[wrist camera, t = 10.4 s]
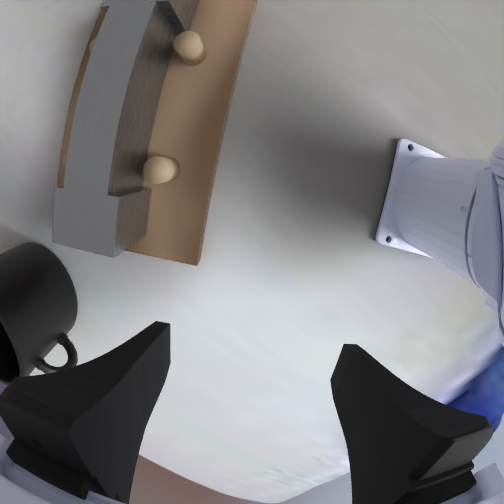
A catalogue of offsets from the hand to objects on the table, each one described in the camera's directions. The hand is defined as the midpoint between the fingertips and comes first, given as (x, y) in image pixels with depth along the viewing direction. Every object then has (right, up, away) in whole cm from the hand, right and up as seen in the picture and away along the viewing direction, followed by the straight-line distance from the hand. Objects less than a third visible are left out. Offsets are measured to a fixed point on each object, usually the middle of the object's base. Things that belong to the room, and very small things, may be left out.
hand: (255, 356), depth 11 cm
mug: (-19, 0, +11) cm, 22 cm away
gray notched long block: (-8, +14, +5) cm, 17 cm away
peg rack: (-8, +14, +6) cm, 17 cm away
